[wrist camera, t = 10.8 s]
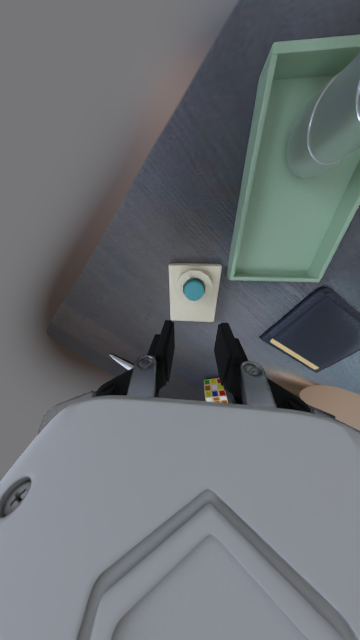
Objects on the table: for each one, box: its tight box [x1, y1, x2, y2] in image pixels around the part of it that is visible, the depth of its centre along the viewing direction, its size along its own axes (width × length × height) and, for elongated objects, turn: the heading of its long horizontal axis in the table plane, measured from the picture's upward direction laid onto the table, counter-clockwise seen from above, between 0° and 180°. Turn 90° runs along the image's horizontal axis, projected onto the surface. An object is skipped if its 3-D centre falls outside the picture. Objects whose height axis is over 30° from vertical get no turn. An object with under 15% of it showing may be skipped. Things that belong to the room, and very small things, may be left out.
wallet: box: [260, 287, 360, 373], centre depth 30 cm, size 20×2×15 cm
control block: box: [169, 263, 222, 322], centre depth 26 cm, size 11×9×4 cm
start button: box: [184, 279, 204, 301], centre depth 23 cm, size 3×3×2 cm
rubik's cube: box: [204, 378, 228, 403], centre depth 40 cm, size 6×6×6 cm
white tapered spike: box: [110, 355, 134, 370], centre depth 40 cm, size 15×3×2 cm, turn 48°
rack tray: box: [226, 35, 360, 282], centre depth 19 cm, size 21×14×3 cm
